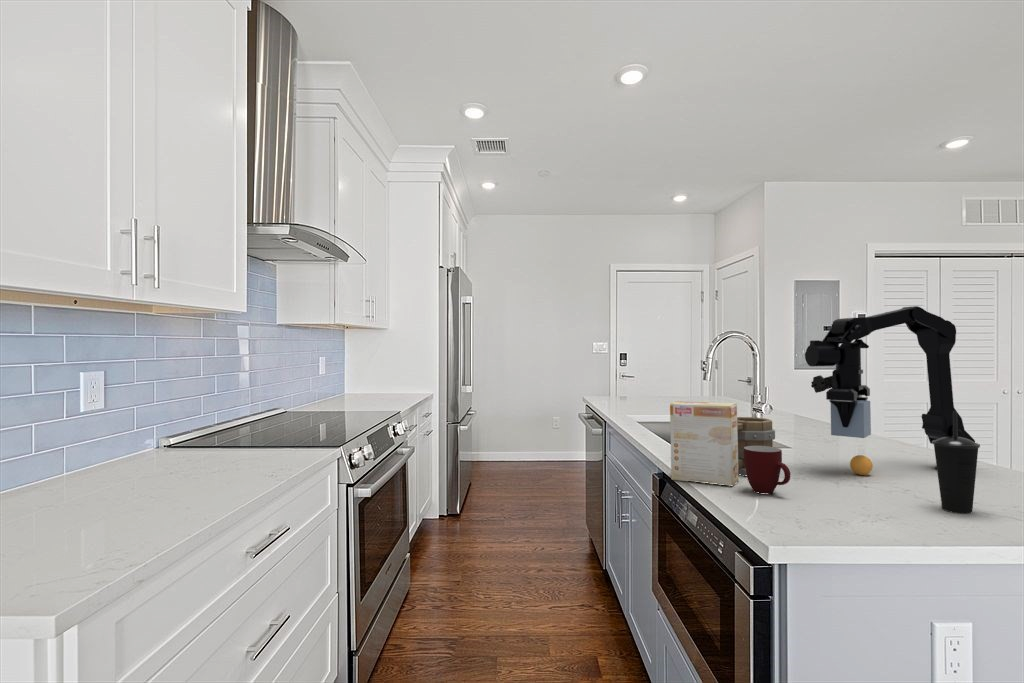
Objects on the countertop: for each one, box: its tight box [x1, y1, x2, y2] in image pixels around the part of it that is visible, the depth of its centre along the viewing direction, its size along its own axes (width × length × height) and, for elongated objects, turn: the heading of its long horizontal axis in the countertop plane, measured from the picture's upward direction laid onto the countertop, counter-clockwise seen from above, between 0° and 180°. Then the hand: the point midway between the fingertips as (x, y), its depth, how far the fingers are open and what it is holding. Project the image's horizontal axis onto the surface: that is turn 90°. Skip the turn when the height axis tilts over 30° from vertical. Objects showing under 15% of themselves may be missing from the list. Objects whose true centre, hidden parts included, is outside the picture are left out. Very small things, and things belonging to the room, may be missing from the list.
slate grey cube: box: [830, 400, 872, 439], centre depth 147 cm, size 8×8×9 cm
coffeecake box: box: [669, 400, 739, 486], centre depth 141 cm, size 15×7×20 cm, turn 57°
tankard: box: [737, 416, 776, 476], centre depth 149 cm, size 20×13×15 cm, turn 123°
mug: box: [744, 446, 791, 494], centre depth 129 cm, size 11×8×10 cm
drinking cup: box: [931, 410, 981, 514], centre depth 114 cm, size 8×8×20 cm
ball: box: [849, 454, 874, 476], centre depth 145 cm, size 5×5×5 cm
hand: (849, 425), depth 147 cm, fingers closed on slate grey cube, 7 cm apart
